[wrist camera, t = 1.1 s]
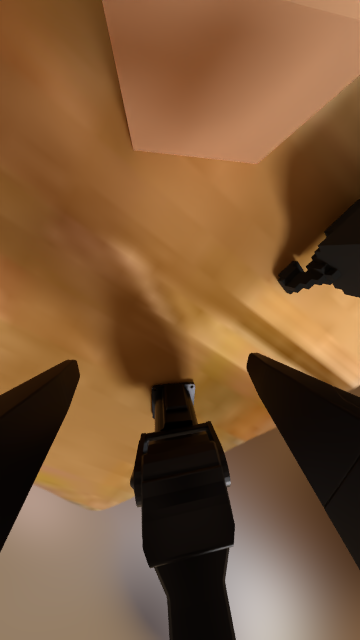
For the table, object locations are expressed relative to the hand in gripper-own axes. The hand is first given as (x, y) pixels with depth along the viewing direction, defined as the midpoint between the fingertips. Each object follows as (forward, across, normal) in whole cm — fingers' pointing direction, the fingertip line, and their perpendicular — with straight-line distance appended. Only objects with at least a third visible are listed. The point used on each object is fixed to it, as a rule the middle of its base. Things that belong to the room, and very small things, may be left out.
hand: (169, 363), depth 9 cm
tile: (+13, -4, -15) cm, 20 cm away
